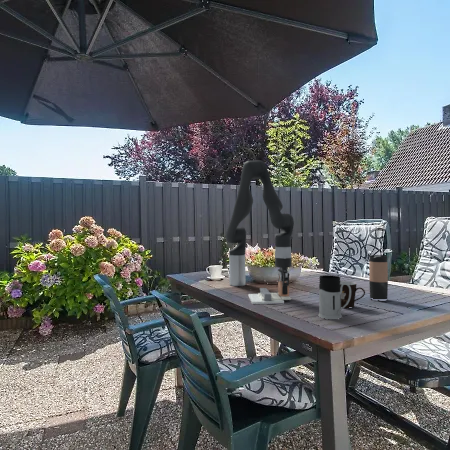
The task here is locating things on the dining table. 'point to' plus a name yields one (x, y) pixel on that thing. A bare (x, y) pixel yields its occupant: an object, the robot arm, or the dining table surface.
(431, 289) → the dining table surface
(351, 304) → the coffee mug
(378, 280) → the travel mug
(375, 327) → the dining table surface
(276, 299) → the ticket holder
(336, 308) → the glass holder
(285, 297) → the tan block on plate
